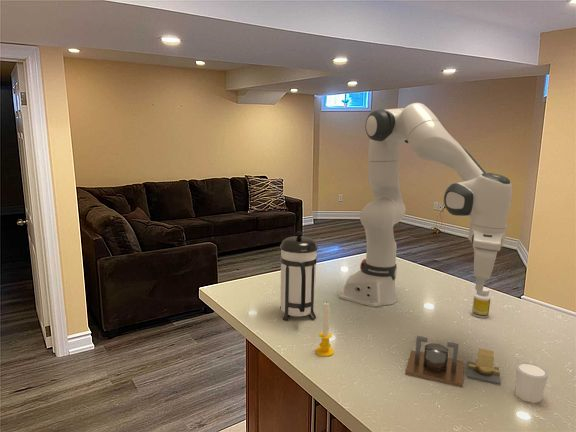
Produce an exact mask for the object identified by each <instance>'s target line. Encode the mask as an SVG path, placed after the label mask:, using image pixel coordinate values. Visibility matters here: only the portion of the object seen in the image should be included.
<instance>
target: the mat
mask: <svg viewBox="0 0 576 432" xmlns="http://www.w3.org/2000/svg"><path fill="white" fill-rule="evenodd" d="M469 364H472V365H476V362H474V361H468V360H466V379H470V380H471V379H472V380H474V381H479V382H484V383H488V384H493V385H494V384H495V385H498V386H501V375H500V376H498V375H492V376H483V375H480V374H478V373H477V372H476V371H475V370H471V369H469ZM494 369H495V370H500V368H499V367H498V366H494Z"/></svg>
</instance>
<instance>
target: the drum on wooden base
mask: <svg viewBox="0 0 576 432" xmlns="http://www.w3.org/2000/svg"><path fill="white" fill-rule="evenodd" d="M428 341H429V339H428V337H426V336H425V337H424V336H419V335H417V336H416V340H415V350H413V349H411V350H410V352H409V357H408V361H407V363H406V367H405V375H408V376H413V377H416V378H421V379H424V380H425V379H426V380H430V381H434V382H439V383H443V384H447V385H451V386H455V387H460V388H462V387H463V379H464V378H463V377H464V360H462V359H458V355H459V344H460V343H456V342H450V341H447V343H446V346H445V345H443V344H440V343H436V342H435V343H434V342H430V343H428ZM422 343H426V344H425V345H424V352H423V351H421V349H422ZM448 348H450V349H451V348H452V356H451V357H449V349H448Z"/></svg>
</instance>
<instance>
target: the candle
mask: <svg viewBox="0 0 576 432" xmlns="http://www.w3.org/2000/svg"><path fill="white" fill-rule="evenodd" d="M322 312H323V316H322V331H321V332H320V333H319V334H318V337H320V338H321V339H320V340H321V342H320V343H319V347H317V348H315V353H316V354H317V356H320V357H324V358H326V357H327V358H329V357H331V356H333V355H334V353H335V350H334V349H333V347H331V346H332V345H331V343H330V339H331V338H332V337H333V333H331V332H329V331H330V330H329V328H330V327H329V326H330V303H328V302H327V301H326V302H325V303H323V311H322Z"/></svg>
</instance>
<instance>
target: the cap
mask: <svg viewBox="0 0 576 432" xmlns="http://www.w3.org/2000/svg"><path fill="white" fill-rule="evenodd" d="M494 360H495V351H494V350H492V349H491V350H490V349H485V348H481V347H479V348H478V354H477V358H476V360H475V363H476V365H472V364H469V369H471V370H475V371H476V372H477V373H478V374H480V375H483V376H492V375H498V376H500V377H501V369H499V370H495V369H494V367H495V363H494Z"/></svg>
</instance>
